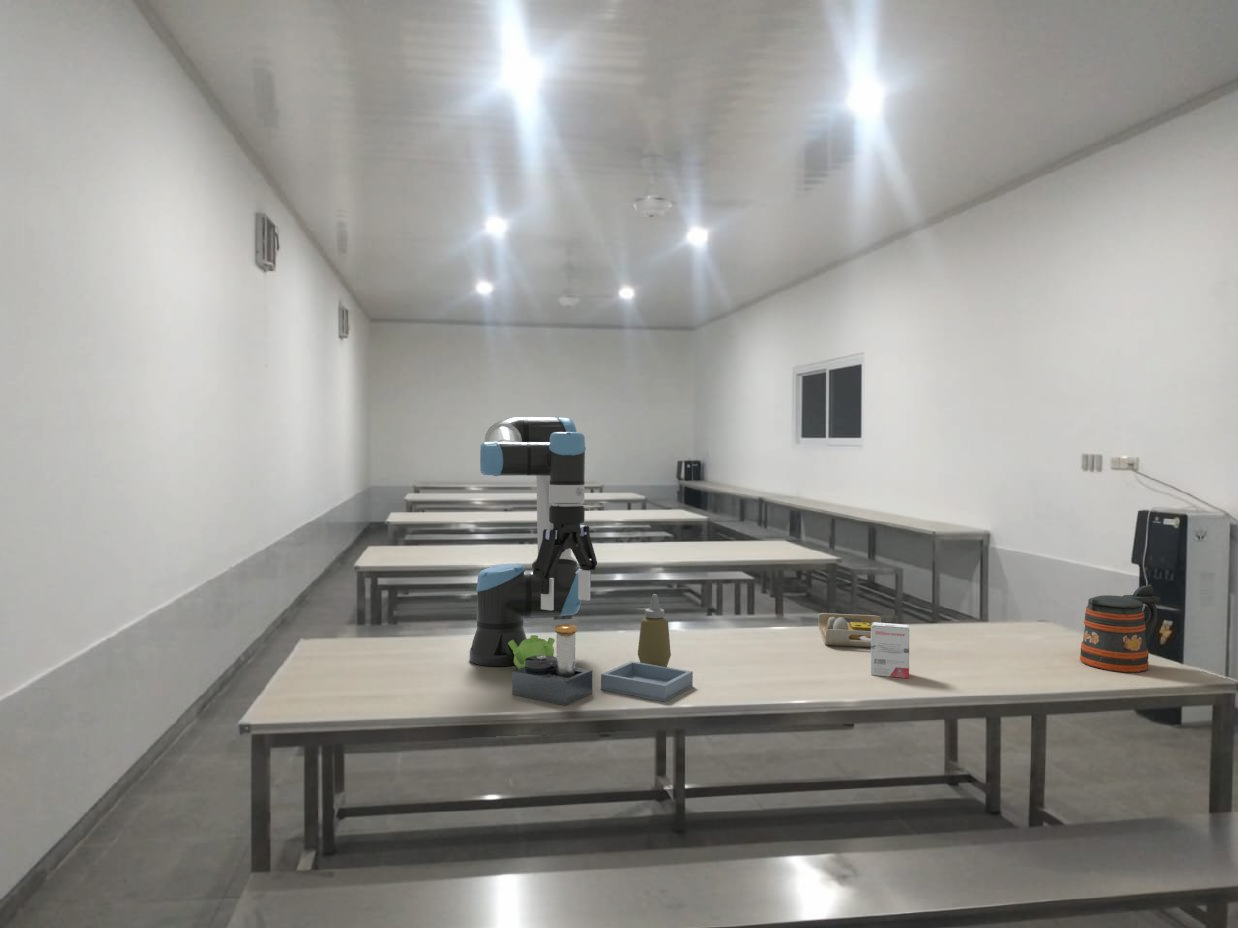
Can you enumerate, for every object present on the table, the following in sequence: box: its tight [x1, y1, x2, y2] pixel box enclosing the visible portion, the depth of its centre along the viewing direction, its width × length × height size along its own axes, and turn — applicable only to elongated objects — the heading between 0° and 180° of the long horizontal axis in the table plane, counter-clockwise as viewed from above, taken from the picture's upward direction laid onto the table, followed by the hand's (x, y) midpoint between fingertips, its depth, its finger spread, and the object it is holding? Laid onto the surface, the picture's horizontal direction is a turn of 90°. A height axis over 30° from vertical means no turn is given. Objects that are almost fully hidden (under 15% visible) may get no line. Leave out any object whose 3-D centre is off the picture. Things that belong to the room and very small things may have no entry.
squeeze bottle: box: [637, 593, 672, 667], centre depth 192 cm, size 8×8×18 cm
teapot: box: [508, 634, 556, 669], centre depth 189 cm, size 11×12×8 cm
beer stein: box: [1079, 584, 1161, 674], centre depth 199 cm, size 19×15×20 cm
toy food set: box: [817, 612, 882, 648], centre depth 225 cm, size 25×18×8 cm
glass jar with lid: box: [554, 623, 578, 678], centre depth 170 cm, size 5×5×15 cm
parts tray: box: [600, 660, 694, 702], centre depth 177 cm, size 16×13×3 cm
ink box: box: [870, 622, 910, 679], centre depth 189 cm, size 9×5×12 cm, turn 71°
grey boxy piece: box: [511, 655, 593, 706], centre depth 172 cm, size 14×10×8 cm
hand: (566, 604), depth 169 cm, fingers open, 13 cm apart
